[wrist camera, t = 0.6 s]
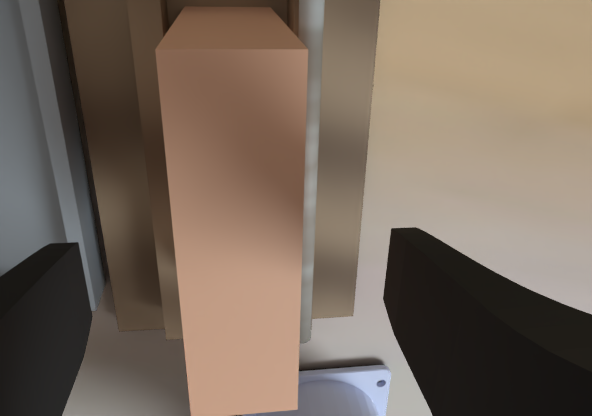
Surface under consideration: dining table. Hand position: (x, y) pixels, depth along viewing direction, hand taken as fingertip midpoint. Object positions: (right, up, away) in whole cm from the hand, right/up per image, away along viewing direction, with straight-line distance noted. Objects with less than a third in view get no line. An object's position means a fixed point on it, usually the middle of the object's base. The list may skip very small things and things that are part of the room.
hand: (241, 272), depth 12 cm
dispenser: (-1, +5, +9) cm, 10 cm away
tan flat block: (-1, +4, +8) cm, 9 cm away
